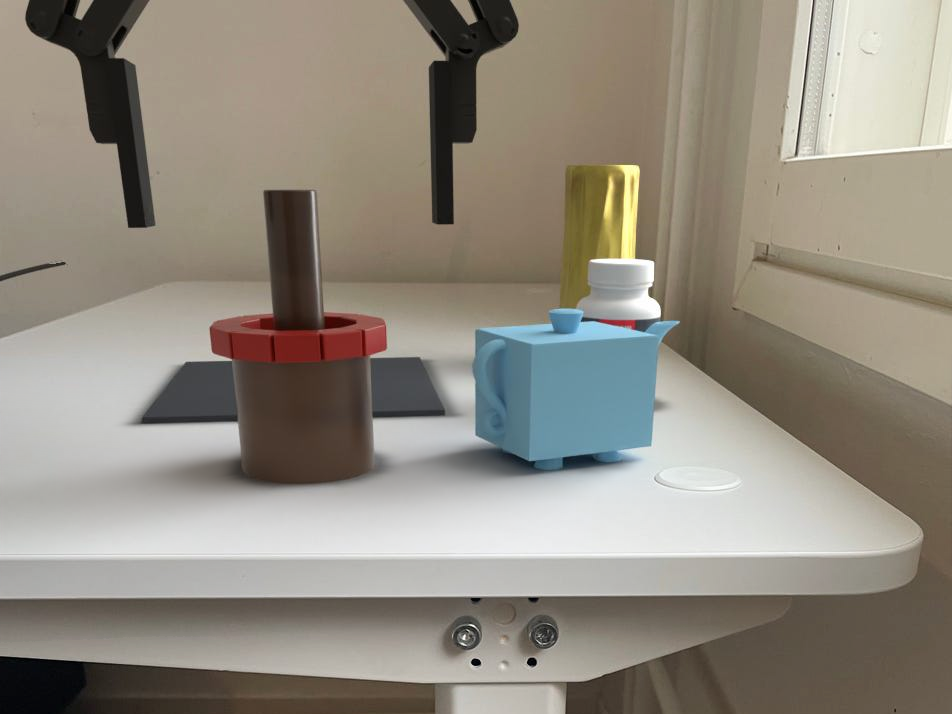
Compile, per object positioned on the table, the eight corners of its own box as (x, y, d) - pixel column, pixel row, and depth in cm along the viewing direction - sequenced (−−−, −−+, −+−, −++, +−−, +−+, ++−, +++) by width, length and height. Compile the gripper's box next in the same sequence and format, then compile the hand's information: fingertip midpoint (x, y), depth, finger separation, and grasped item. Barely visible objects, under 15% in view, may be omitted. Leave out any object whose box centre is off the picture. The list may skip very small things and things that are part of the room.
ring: (222, 337, 52) (220, 313, 52) (382, 335, 53) (381, 310, 53) (204, 364, 45) (201, 336, 44) (390, 360, 46) (389, 333, 45)
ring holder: (248, 456, 54) (222, 189, 49) (372, 452, 55) (361, 188, 50) (237, 490, 48) (207, 190, 43) (377, 485, 49) (364, 190, 44)
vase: (593, 379, 75) (603, 164, 69) (536, 368, 79) (541, 165, 73) (649, 370, 78) (663, 165, 72) (592, 360, 82) (601, 165, 76)
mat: (186, 369, 78) (185, 361, 78) (420, 364, 81) (419, 356, 80) (142, 427, 60) (141, 417, 60) (445, 419, 62) (445, 409, 62)
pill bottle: (589, 418, 63) (596, 265, 59) (559, 401, 67) (564, 258, 63) (667, 413, 64) (679, 263, 60) (633, 397, 69) (642, 256, 65)
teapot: (638, 433, 59) (647, 297, 56) (703, 457, 54) (716, 308, 51) (449, 455, 54) (448, 308, 51) (501, 483, 49) (502, 322, 46)
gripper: (-149, -470, 33) (-16, 231, 42) (599, -422, 36) (579, 225, 45) (-67, -359, 40) (33, 225, 49) (557, -326, 43) (547, 219, 52)
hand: (295, 226), depth 47 cm, fingers open, 13 cm apart
